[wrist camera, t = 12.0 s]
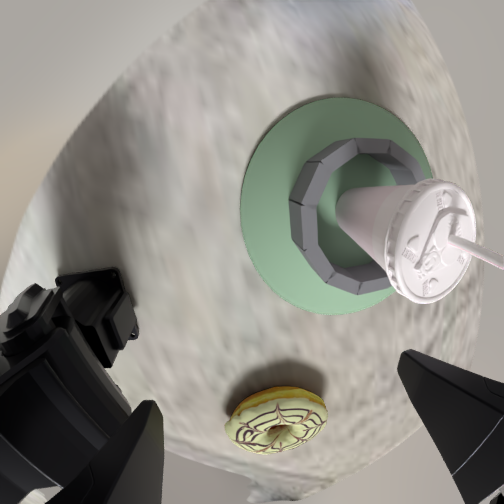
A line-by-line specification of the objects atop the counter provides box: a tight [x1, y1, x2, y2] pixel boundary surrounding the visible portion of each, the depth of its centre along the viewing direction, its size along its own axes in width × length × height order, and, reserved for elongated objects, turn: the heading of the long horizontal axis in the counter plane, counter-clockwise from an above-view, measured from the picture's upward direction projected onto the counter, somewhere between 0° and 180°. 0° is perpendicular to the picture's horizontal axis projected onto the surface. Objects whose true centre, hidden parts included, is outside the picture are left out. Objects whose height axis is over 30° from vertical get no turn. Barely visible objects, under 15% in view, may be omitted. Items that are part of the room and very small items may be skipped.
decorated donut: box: [225, 386, 328, 454], centre depth 25 cm, size 10×11×4 cm
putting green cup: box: [240, 98, 433, 315], centre depth 19 cm, size 18×18×3 cm
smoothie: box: [335, 178, 504, 304], centre depth 13 cm, size 6×6×14 cm
